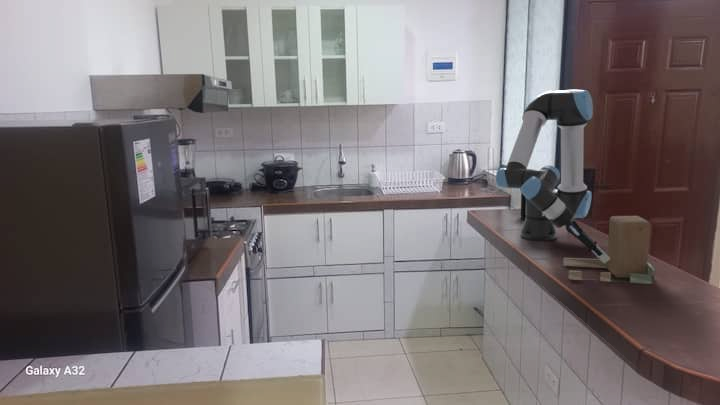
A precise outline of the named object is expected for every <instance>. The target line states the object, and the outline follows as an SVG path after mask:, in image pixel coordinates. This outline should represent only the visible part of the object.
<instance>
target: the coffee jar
mask: <svg viewBox="0 0 720 405" xmlns="http://www.w3.org/2000/svg"><path fill="white" fill-rule="evenodd" d="M520 217H521V218H522V219H521V220H525V218H526V197H525V196H524V195H523V194H522V193H521V192H520Z"/></svg>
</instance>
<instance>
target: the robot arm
mask: <svg viewBox="0 0 720 405" xmlns="http://www.w3.org/2000/svg"><path fill="white" fill-rule="evenodd" d="M593 111H594V105H593V98H592V96H591V94H590V92H589V91H588V90H586V89H585V90H584V89H566V90H548V91H545V92H543V93H540V94H539V95H537V96H536V97H535V98H533V100H531V102H529V104H528V105H527V106H526V107H525V109H524V112H523V114H522V117H521V119H522V124H521V127H520V130H519V132H518V135H517V137H516V140H515V142H514V144H513V148H512V151H511V154H510V156H509V159H508V160H507V164H506V166H505V167H500V168H499V169H497V171H496V175H495V181H496V186H498V187H501V188H505V189H519V191H520V194H521V193H522V194H523V195H524V196H525V197H526V218H525V219H524V222H523V225H522V228H521V230H520V236H521V237H522V238H524V239H526V240H529V241H545V242H546V241H553V240H555V239H557V235H558V234H557V229H560V228H562V227H564V228H565V229H566V231H567V232H568V234H569V233H570V234H571V235H572V236H573V237H574V238H575V239H578V240H579V242H581V243H582V244H583V246H585V247H586V248H587V249H588V252H589V253H590V252H592V253H593V255H595V256H596V257H597V259H600V260H601V261H602V262H603V263H604V264H605V263H606V262H607V261H608V260H610V259H611V258H610V257H609V256H608V253H606V252H605V251H604V250H603V249H602V248H601V247H600V246H599V245H597V244H598V241H596V240H595V241H593V239H591V237H590V236H588V235H587V234H586V233H585V232H584V230H583V229H582V227H580V225H579V224H578V223H577V222H576V220H572V219H576V218H577V219H578V218H579V219H583V218H585V217H586V216H587V215H588V213H589V210H590V207H591V204H592V196H593V194H592V191H590V190H588V186H587V185H586V184H585V183H584V149H585V148H584V146H585V145H584V142H585V141H584V140H585V139H584V138H585V137H584V135H585V134H584V133H585V132H584V131H585V130H584V129H585V127H586V126H587V124H588V123H589V120H591V119H592V118H593V116H594V114H593V113H594V112H593ZM551 120H552V121H556V125H557V127H558V128H559V129H560V170H559V169H558V168H557V167H555V166H553V165H549V164H548V165H545V166H542V167H541V168H539V169H530V168H528V165H529V163H530V160H531V158H532V154H533V152H534V149H535V146H536V143H537V141H538V138H539V135H540V132H541V130H542V127H544V126H545V125H546V123H547V121H551ZM560 179H561V180H560ZM559 181H560V184H558V183H559ZM557 184H558V185H557ZM556 186H557V188H556ZM556 228H557V229H556Z"/></svg>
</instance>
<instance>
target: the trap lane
mask: <svg viewBox="0 0 720 405" xmlns="http://www.w3.org/2000/svg"><path fill="white" fill-rule="evenodd" d="M563 266H564V267H573V268H574V267H575V268H576V267H580V268H601V269H607V262H606V263H605V264H604V263H603V262H602V261H601V260H600V259H599V258H585V257H584V258H581V257H563ZM655 272H656V268H654V267H653V266H652V265H651V263H650V262H649V261H648V262H647V274H633V273H630V278H629V280H614V279H613V280H611V277H612V273H611V272H610V271H607V272H606V271H600V278H599V279H594V278H593V279H592V278H583V276H582V275H583V271H582V270H568V280H569V279H570V281H571V280H574V281H590V282H592V281H593V282H609V283H610V282H611V283H628V284H629V283H630V284H631V283H632V284H647V285H649V284H650V285H654V284H655V275H656V274H655Z"/></svg>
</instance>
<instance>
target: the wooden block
mask: <svg viewBox="0 0 720 405" xmlns="http://www.w3.org/2000/svg"><path fill="white" fill-rule="evenodd" d="M650 236H651V222H649V221H648V220H647V219H645V218H643V217H640V216H639V215H613V216H610V217H609V227H608V241H607V242H608V243H607V255H608V256H609V257H610V258H611V259H610V260H608V261H607V268H606V270H607V271H608V272H611V275H613V276H614V277H615V278H617V279H630V273H633V274H647V262H649V261H648V260H649V249H650V248H649V245H650V238H651V237H650Z"/></svg>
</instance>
